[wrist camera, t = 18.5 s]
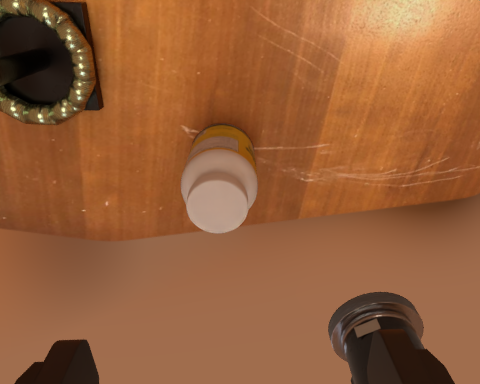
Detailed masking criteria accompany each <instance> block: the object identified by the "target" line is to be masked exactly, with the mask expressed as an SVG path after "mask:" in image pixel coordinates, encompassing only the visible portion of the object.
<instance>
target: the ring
mask: <svg viewBox="0 0 480 384" xmlns="http://www.w3.org/2000/svg"><path fill="white" fill-rule="evenodd" d="M8 16H12V17H31V18H33V19H34V20H36V21H38V22H39V23H41V24H43V25H44V26H46V27H48V28H50V29H51V30H53V31H54V32H55V34H56V35H57V36H58V38H59V39H60V41H61V42H62V44H63V45H64V46H65V48H66V49H67V51H68V52H69V54H70V60H71V66H72V72H73V79H72V82H71V84H70V87H69V89H68V92H67V94H66V96H64V97H63V98H61V99H59V100H58V101H56V102H54V103H53V104H51V105H40V104H29V103H27V102H25V101H23V100H21V99H20V98H18V97H16V96H14V95H12V94H10V93H9V92H8V91H7V90H6V89H5V87H4V86H3V85H2V86H0V111H2V112H3V113H5V114H7V115H9V116H11V117H13V118H15V119H17V120H19V121H21V122H23V123H25V124H41V125H59V124H61V123H63V122H64V121H66V120H68V119H70V118H71V117H73V116H75V115H77V114H78V113H80V112H82V111H83V110H84V109H85V107H86V104H87V102H88V100H89V98H90V95H91V93H92V91H93V89H94V86H95V84H96V77H95V70H94V63H93V55H92V49H91V47H90V45H89V43H88V42H87V40H86V39H85V37H84V36H83V34H82V33H81V31H80V30H79V28H78V27H77V25H76V24H75V22H74V21H73V19H72V18H71V17H70V15H69V14H67V13H66V12H64V11H63V10H61V9H59V8H58V7H56V6H55V5H53V4H51V3H50V2H48V1H47V0H0V22H1V21H2V20H4V19H5V18H7V17H8Z"/></svg>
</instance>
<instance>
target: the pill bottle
mask: <svg viewBox="0 0 480 384" xmlns="http://www.w3.org/2000/svg"><path fill="white" fill-rule="evenodd" d="M257 191H258V180H257V172H256V163H255V154H254V147H253V144H252V142H251V140H250V138H249V137H248V135H247V134H246V133H245V132H244V131H243V130H241V129H240V128H238V127H236V126H234V125H230V124H224V123H220V124H214V125H211V126H208V127H206V128H205V129H203V130H202V131H201V132H200V133H199V134H198V135H197V136H196V138H195V139H194V141H193V144H192V147H191V150H190V153H189V156H188V159H187V162H186V165H185V168H184V171H183V174H182V178H181V192H182V196H183V199H184V201H185V203H186V209H187V213H188V216H189V218H190V219H191V221H192V222H193V223H194V224H195V225H196V226H197V227H199V228H200V229H202V230H204V231H207V232H210V233H226V232H229V231H232V230H234V229H235V228H237V227H239V226H240V225H241V224H242V223H243V221H244V220H245V218H246V216H247V213H248V209H249V208H250V207H251V206H252V204H253V203H254V201H255V199H256V196H257Z"/></svg>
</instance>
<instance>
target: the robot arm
mask: <svg viewBox="0 0 480 384" xmlns="http://www.w3.org/2000/svg"><path fill="white" fill-rule="evenodd" d="M341 343H342V347H343V350H344V353H345V354H346V357H347V361H348V364H349V367H350V371H351V374H352V378H351V383H352V384H455V383H454V381H453V380H452V378H451V376H450V375H449V373H448V371H447V369H446V368H445V366H444V365H443V364H442V363H441V362H440V361H438V359H437V358H435V357H434V356H433V355H432V354H431V353H430V352H429V351H428V350H427V349H425V348H424V347H423V345H422V343H421V341H420V339H419V337H418V335H417V333H416V330H415V328H414V326H413V324H412V322H411V321H410V320H409V319H408V318H407V317H406V316H404V315H403V314H401V313H398V312H395V311H389V310H379V311H373V312H369V313H366V314H363V315H361V316H359V317H357V318H355V319H354V320H353V321H351V322H350V323H349V324H348V325H347V326H346V328H345V329H344V331H343V333H342V336H341ZM15 384H99V375H98V372H97V369H96V365H95V362H94V359H93V356H92V353H91V350H90V346H89V344H88V342H87V340H59V341H57V342H55V343H54V344H53V346H52V347H51V349H50V351H49V353H48V355H47V357H46V358H45V360H44V362H35V363H34V364H32V365H31V366H30V367H29V368H28V369H27V370H26V372H24V373H23V374H22V375H21V376H20V377H19V378H18V379H17V381H16V382H15Z"/></svg>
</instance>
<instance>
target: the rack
mask: <svg viewBox="0 0 480 384" xmlns="http://www.w3.org/2000/svg"><path fill="white" fill-rule="evenodd" d="M50 3H51V4H53V5H55V6H56V7H58V8H59V9H61V10H63V11H64V12H66V13H67V14H69V15H70V17H71V18H72V19H73V21H74V22H75V24H76V25H77V27H78V28H79V30H80V31H81V33H82V34H83V36H84V37H85V39H86V40H87V42H88V43H89V45H90V47H91V49H92V55H93V63H94V70H95V77H96V84H95V86H94V89H93V91H92V93H91V95H90V98H89V100H88V102H87V104H86V107H85V109H84V110H100V109H102V108H103V102H102V96H101V90H100V84H99V78H98V72H97V66H96V59H95V53H94V47H93V41H92V35H91V29H90V23H89V17H88V11H87V5H86V3H85V2H50ZM72 79H73V72H72V66H71V60H70V54H69V52H68V51H67V49H66V48H65V46H64V45H63V44H62V42H61V41H60V39H59V38H58V36H57V35H56V34H55V32H54V31H53V30H51V29H50V28H48V27H46V26H44V25H43V24H41V23H39V22H38V21H36V20H34V19H33V18H31V17H12V16H8V17H7V18H5V19H4V20H2V21H1V22H0V86H2V85H3V86H4V87H5V89H6V90H7V91H8V92H9V93H10V94H12V95H14V96H16V97H18V98H20V99H21V100H23V101H25V102H27V103H29V104H40V105H51V104H53V103H54V102H56V101H58V100H59V99H61V98H63V97H64V96H66V94H67V92H68V89H69V87H70V84H71V82H72Z"/></svg>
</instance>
